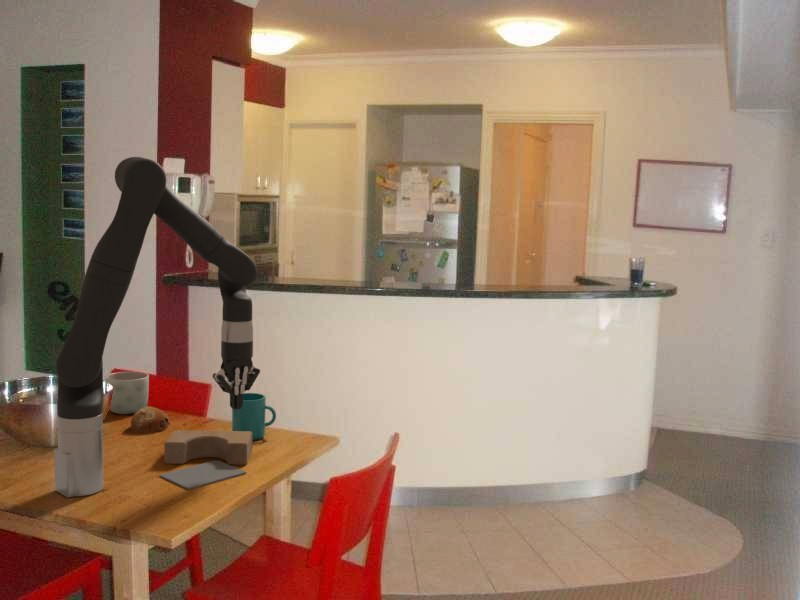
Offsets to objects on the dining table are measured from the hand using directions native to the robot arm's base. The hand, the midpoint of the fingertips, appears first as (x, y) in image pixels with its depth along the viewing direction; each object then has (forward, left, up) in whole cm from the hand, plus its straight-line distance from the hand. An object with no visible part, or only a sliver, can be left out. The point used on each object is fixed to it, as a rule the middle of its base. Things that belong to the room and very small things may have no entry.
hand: (236, 408), depth 196 cm
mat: (-9, 0, -14) cm, 17 cm away
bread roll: (+2, +43, -15) cm, 45 cm away
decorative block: (+6, +2, -12) cm, 13 cm away
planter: (+7, +63, -15) cm, 65 cm away
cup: (+19, +17, -15) cm, 29 cm away
